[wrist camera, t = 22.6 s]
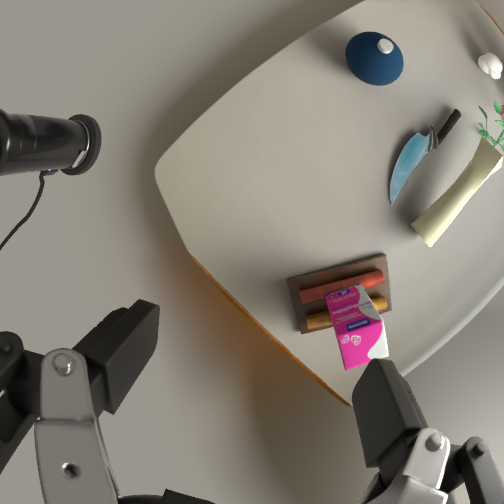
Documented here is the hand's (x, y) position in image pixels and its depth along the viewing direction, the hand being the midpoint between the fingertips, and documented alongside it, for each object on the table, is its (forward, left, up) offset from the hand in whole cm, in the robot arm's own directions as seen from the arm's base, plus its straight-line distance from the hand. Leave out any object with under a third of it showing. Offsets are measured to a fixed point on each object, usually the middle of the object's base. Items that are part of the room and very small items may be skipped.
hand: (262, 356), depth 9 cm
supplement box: (+7, -15, -29) cm, 33 cm away
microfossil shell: (+48, +19, -32) cm, 61 cm away
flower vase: (+35, +2, -32) cm, 48 cm away
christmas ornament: (+20, +19, -32) cm, 43 cm away
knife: (+25, +5, -32) cm, 41 cm away
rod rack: (+7, -15, -32) cm, 36 cm away
